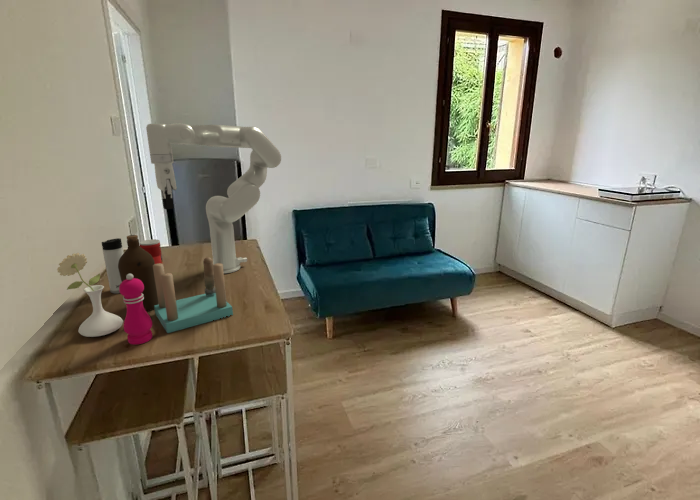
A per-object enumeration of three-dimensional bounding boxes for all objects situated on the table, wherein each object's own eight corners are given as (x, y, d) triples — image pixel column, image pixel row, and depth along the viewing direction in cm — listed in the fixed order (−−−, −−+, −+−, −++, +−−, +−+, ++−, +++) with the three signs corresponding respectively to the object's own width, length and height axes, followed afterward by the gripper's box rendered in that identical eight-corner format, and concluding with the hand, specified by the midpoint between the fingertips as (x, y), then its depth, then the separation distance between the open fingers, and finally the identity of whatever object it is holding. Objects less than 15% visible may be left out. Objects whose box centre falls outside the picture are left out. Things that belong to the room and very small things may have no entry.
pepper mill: (133, 333, 116) (121, 269, 110) (158, 332, 116) (148, 269, 110) (121, 346, 109) (108, 278, 103) (148, 345, 109) (137, 278, 103)
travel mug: (122, 294, 143) (112, 241, 137) (106, 293, 144) (96, 240, 138) (134, 288, 149) (125, 237, 143) (119, 286, 150) (110, 236, 144)
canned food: (166, 264, 175) (163, 240, 172) (149, 269, 169) (145, 245, 166) (156, 261, 179) (153, 238, 176) (139, 266, 173) (135, 242, 170)
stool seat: (216, 298, 139) (211, 253, 134) (233, 315, 127) (228, 265, 122) (155, 313, 128) (147, 264, 123) (167, 333, 116) (159, 279, 111)
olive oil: (167, 303, 136) (157, 233, 128) (142, 316, 126) (129, 241, 119) (145, 298, 139) (134, 230, 132) (118, 310, 130) (105, 238, 123)
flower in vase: (117, 318, 125) (103, 243, 117) (129, 331, 117) (114, 251, 110) (69, 332, 116) (50, 252, 109) (77, 347, 108) (58, 261, 101)
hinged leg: (213, 291, 137) (210, 255, 132) (216, 294, 135) (213, 258, 130) (204, 293, 135) (201, 256, 130) (207, 296, 133) (204, 260, 128)
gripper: (178, 159, 139) (184, 210, 145) (167, 157, 151) (174, 204, 156) (155, 160, 135) (162, 213, 140) (146, 158, 146) (153, 206, 152)
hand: (168, 208), depth 148 cm, fingers closed
